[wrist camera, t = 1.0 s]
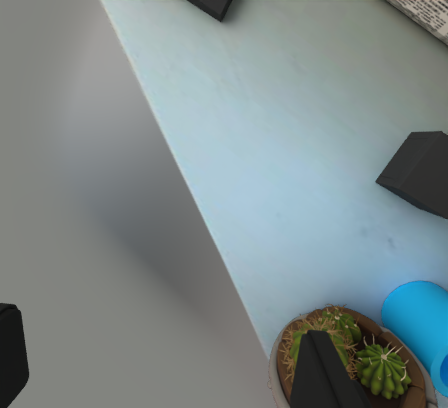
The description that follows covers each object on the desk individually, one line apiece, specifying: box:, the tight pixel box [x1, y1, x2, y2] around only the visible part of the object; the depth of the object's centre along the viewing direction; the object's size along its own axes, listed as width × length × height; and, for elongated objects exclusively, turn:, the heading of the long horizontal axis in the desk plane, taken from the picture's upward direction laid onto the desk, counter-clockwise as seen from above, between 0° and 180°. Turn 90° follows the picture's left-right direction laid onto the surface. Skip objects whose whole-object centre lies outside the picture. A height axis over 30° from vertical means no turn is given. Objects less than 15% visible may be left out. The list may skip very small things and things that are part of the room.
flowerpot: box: [268, 304, 438, 408], centre depth 26 cm, size 14×15×20 cm
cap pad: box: [376, 131, 448, 219], centre depth 26 cm, size 6×6×4 cm
